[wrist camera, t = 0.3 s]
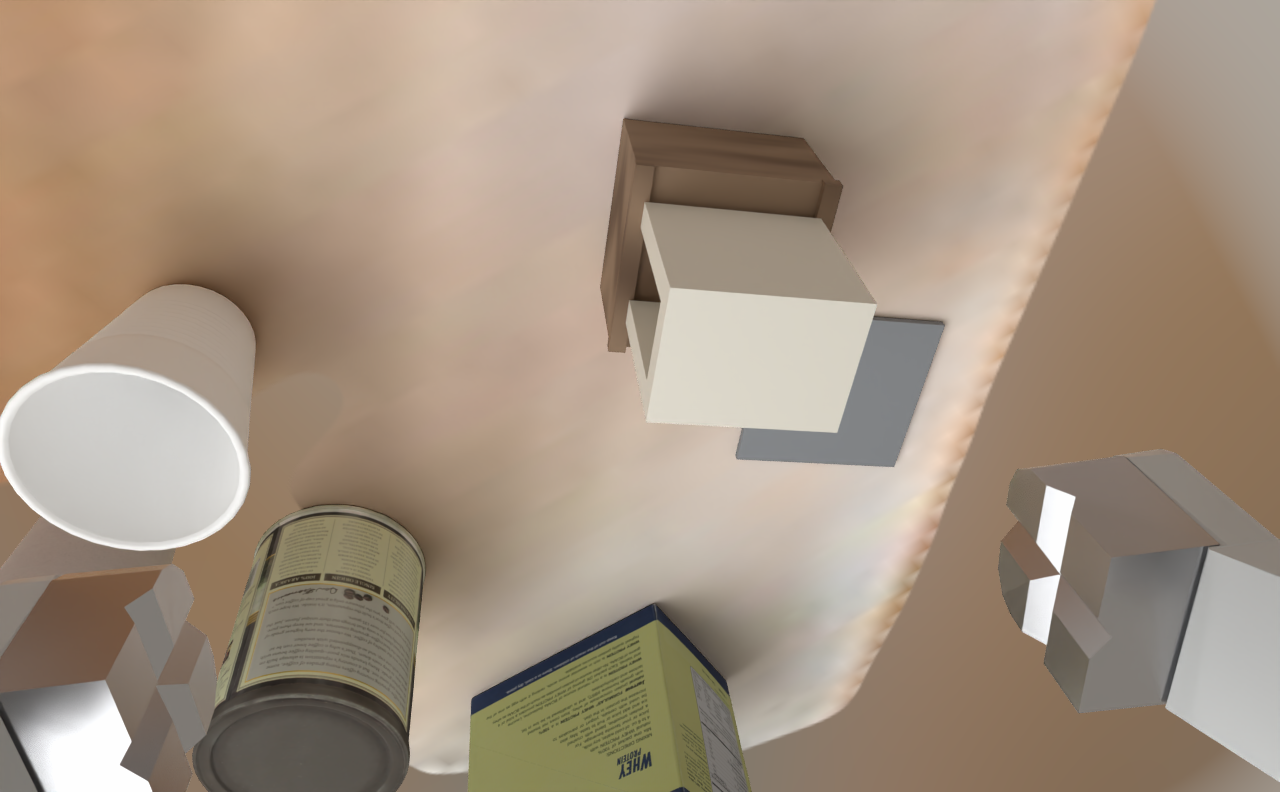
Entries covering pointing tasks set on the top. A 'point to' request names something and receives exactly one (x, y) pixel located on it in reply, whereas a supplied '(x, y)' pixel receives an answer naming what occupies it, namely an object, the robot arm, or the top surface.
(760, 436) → the mat
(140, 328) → the cup
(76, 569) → the coffee cup
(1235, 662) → the robot arm
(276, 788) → the coffee can
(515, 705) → the protein box
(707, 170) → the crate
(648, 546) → the top surface
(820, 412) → the cream square bin
